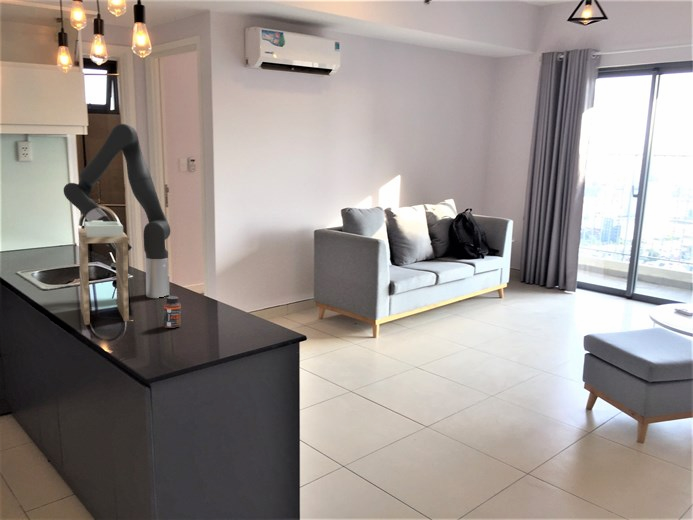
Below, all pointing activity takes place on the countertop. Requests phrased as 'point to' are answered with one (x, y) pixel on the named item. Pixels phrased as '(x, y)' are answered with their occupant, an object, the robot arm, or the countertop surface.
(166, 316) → the supplement bottle
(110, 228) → the tray
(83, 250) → the oak shelf
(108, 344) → the countertop surface
